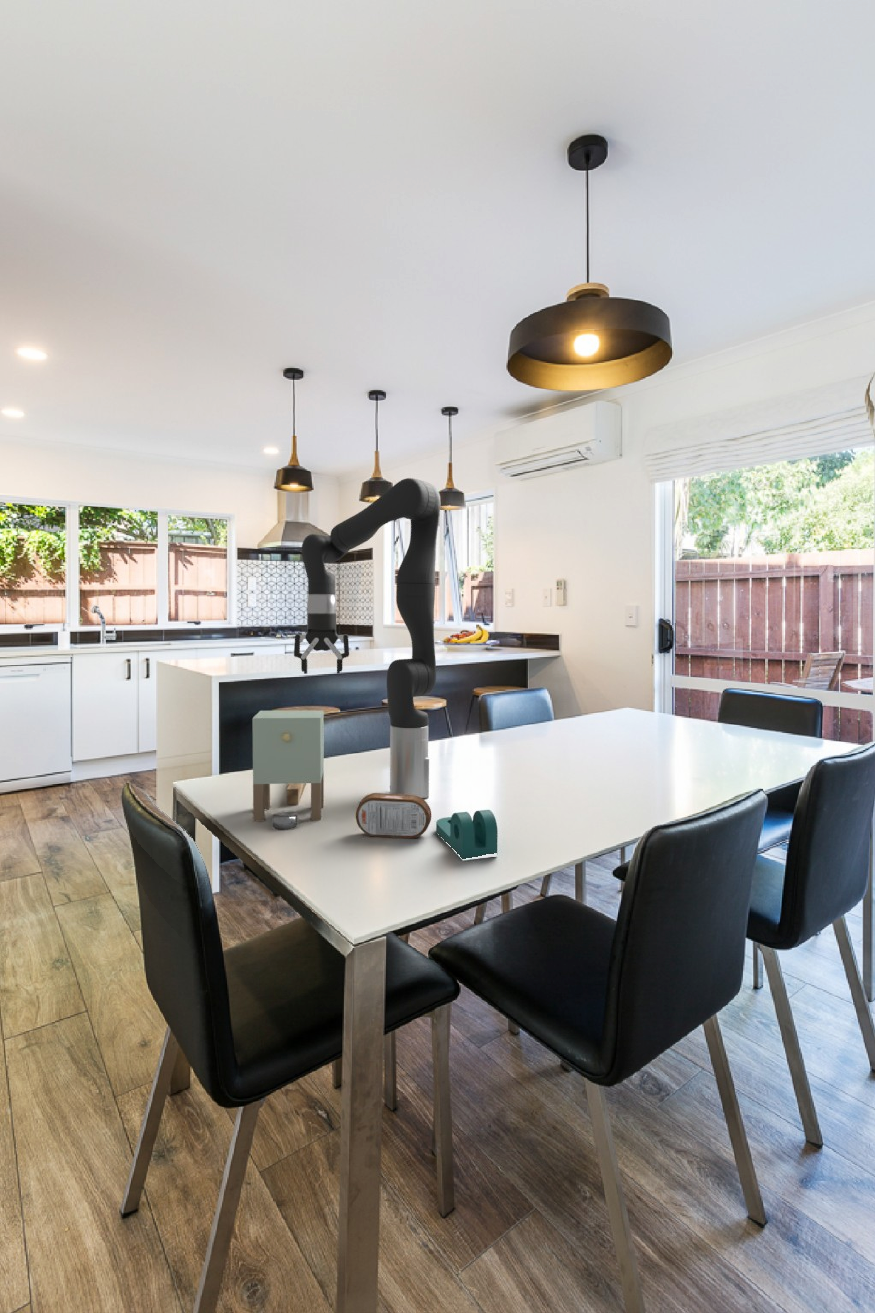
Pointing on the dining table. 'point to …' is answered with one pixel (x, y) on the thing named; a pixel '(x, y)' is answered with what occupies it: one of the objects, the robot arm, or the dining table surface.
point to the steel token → (285, 820)
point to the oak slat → (295, 793)
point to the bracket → (470, 833)
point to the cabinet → (288, 756)
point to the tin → (393, 815)
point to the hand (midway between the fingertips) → (322, 673)
